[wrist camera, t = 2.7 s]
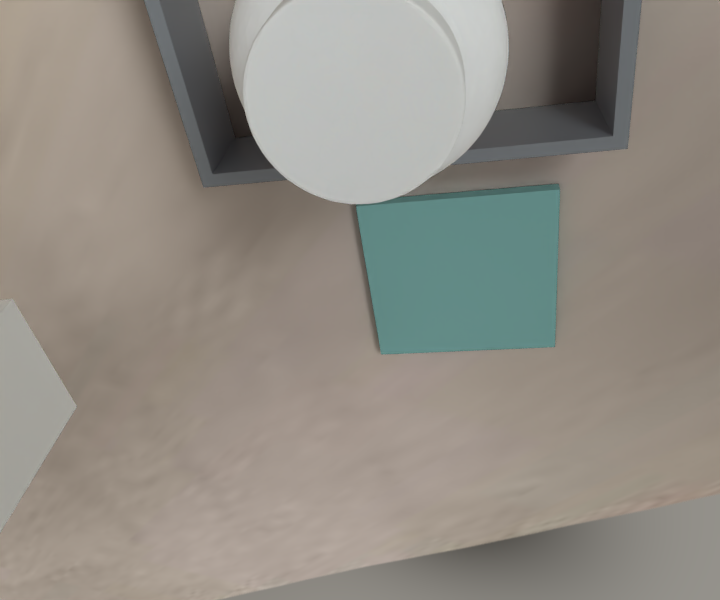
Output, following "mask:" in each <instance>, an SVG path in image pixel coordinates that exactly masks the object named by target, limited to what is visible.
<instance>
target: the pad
mask: <svg viewBox="0 0 720 600" xmlns="http://www.w3.org/2000/svg"><path fill="white" fill-rule="evenodd" d="M559 205H560V188H559V184H550V185H538V186H526V187H514V188H502V189H490V190H478V191H466V192H454V193H443V194H431V195H419V196H407V197H396V198H394V199H390V200H387V201H383V202H379V203H372V204H356V211H357V217H358V222H359V228H360V234H361V240H362V246H363V251H364V257H365V263H366V269H367V275H368V281H369V286H370V292H371V298H372V304H373V310H374V315H375V321H376V327H377V333H378V339H379V344H380V350H381V354H404V353H427V352H450V351H473V350H497V349H520V348H543V347H555V329H556V298H557V267H558V236H559Z"/></svg>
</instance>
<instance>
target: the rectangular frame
mask: <svg viewBox="0 0 720 600" xmlns="http://www.w3.org/2000/svg"><path fill="white" fill-rule="evenodd" d="M144 2H145V5H146V8H147V12H148V15H149V18H150V21H151V24H152V27H153V30H154V34H155V37H156V40H157V43H158V46H159V49H160V52H161V56H162V59H163V62H164V65H165V68H166V71H167V74H168V78H169V81H170V84H171V87H172V90H173V93H174V96H175V100H176V103H177V106H178V109H179V112H180V115H181V118H182V122H183V125H184V128H185V131H186V134H187V137H188V140H189V144H190V147H191V150H192V153H193V156H194V159H195V162H196V165H197V169H198V172H199V175H200V178H201V181H202V184H203V187H215V186H226V185H236V184H247V183H258V182H269V181H280V180H288V179H286V178H285V177H284V176H283V175H281V174H280V173H279V172H278V171H277V170H276V169H275V168H274V167H273V165H272V164H271V163H270V162H269V161H268V160H267V158H266V157H265V156H264V154H263V153H262V151H261V150H260V148H259V146H258V145H257V143H256V141H255V139H254V137H253V136H249V137H240V138H235V135H234V132H233V128H232V124H231V121H230V117H229V113H228V110H227V106H226V102H225V99H224V95H223V91H222V88H221V84H220V81H219V77H218V73H217V70H216V66H215V62H214V59H213V55H212V51H211V48H210V44H209V40H208V37H207V33H206V29H205V26H204V22H203V18H202V15H201V11H200V8H199V4H198V0H144ZM641 3H642V0H601V16H600V33H599V49H598V65H597V81H596V98H595V101H586V102H576V103H567V104H557V105H548V106H538V107H528V108H519V109H509V110H499V111H494V113H493V115H492V117H491V119H490V121H489V122H488V124H487V126H486V127H485V129H484V130H483V132H482V133H481V135H480V136H479V137H478V139H477V140H476V141H475V142H474V143H473V145H472V146H471V147H470V148H469V149H468V150H467V151H466V152H465V153H464V154H463V155H462V156H461V157H460V158H458V159H457V160H456V161H455V162H454V163H452V164H451V165H456V164H467V163H478V162H489V161H500V160H511V159H521V158H532V157H543V156H554V155H565V154H576V153H587V152H598V151H609V150H620V149H628V140H629V129H630V119H631V108H632V97H633V87H634V76H635V66H636V55H637V45H638V34H639V24H640V13H641Z"/></svg>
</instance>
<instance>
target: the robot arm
mask: <svg viewBox="0 0 720 600" xmlns="http://www.w3.org/2000/svg"><path fill="white" fill-rule="evenodd" d="M76 407H77V406H76V404H75V402H74V401H73V399H72V397H71V396H70V394H69V392H68V391H67V389H66V387H65V386H64V384H63V382H62V381H61V379H60V377H59V376H58V374H57V372H56V371H55V369H54V367H53V366H52V364H51V362H50V361H49V359H48V357H47V356H46V354H45V352H44V351H43V349H42V347H41V345H40V344H39V342H38V340H37V339H36V337H35V335H34V334H33V332H32V330H31V329H30V327H29V325H28V324H27V322H26V320H25V319H24V317H23V315H22V314H21V312H20V310H19V309H18V307H17V305H16V304H15V302H14V300H13V299H6V300H0V532H1V531H2V529H3V527H4V526H5V524H6V523H7V521H8V519H9V518H10V516H11V514H12V513H13V511H14V509H15V508H16V506H17V504H18V503H19V501H20V499H21V498H22V496H23V495H24V493H25V491H26V490H27V488H28V486H29V485H30V483H31V481H32V480H33V478H34V476H35V475H36V473H37V471H38V470H39V468H40V467H41V465H42V463H43V462H44V460H45V458H46V457H47V455H48V453H49V452H50V450H51V448H52V447H53V445H54V443H55V442H56V440H57V439H58V437H59V435H60V434H61V432H62V430H63V429H64V427H65V425H66V424H67V422H68V420H69V419H70V417H71V415H72V414H73V412H74V411H75V409H76Z"/></svg>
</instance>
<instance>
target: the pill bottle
mask: <svg viewBox="0 0 720 600" xmlns="http://www.w3.org/2000/svg"><path fill="white" fill-rule="evenodd" d="M508 55H509V37H508V28H507V20H506V14H505V10H504V6H503V3H502V0H236V1H235V4H234V8H233V12H232V18H231V23H230V33H229V56H230V64H231V70H232V76H233V80H234V84H235V87H236V90H237V93H238V96H239V99H240V101H241V103H242V106H243V108H244V110H245V114H246V118H247V121H248V124H249V127H250V130H251V133H252V135H253V137H254V139H255V141H256V143H257V145H258V146H259V148H260V150H261V151H262V153H263V154H264V156H265V157H266V158H267V160H268V161H269V162H270V163H271V164H272V165H273V167H274V168H275V169H276V170H277V171H278V172H279V173H280V174H281V175H283V176H284V177H285V178H286V179H288V180H289V181H290V182H292V183H293V184H295V185H296V186H298V187H299V188H301V189H302V190H304V191H306V192H308V193H310V194H313V195H315V196H318V197H321V198H323V199H326V200H329V201H334V202H339V203H345V204H372V203H379V202H383V201H387V200H390V199H394V198H396V197H399V196H401V195H404V194H406V193H408V192H410V191H412V190H413V189H415V188H417V187H418V186H420V185H421V184H422V183H424V182H425V181H426V180H428V179H429V178H430V177H431V176H434V175H435V174H437V173H439V172H440V171H442V170H444V169H445V168H446V167H448V166H449V165H451V164H452V163H454V162H455V161H456V160H457V159H458V158H460V157H461V156H462V155H463V154H464V153H465V152H466V151H467V150H468V149H469V148H470V147H471V146H472V145H473V143H474V142H475V141H476V140H477V139H478V137H479V136H480V135H481V133H482V132H483V130H484V129H485V127H486V126H487V124H488V122H489V121H490V119H491V117H492V115H493V113H494V111H495V109H496V106H497V104H498V101H499V99H500V96H501V93H502V90H503V86H504V82H505V78H506V72H507V66H508Z"/></svg>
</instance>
